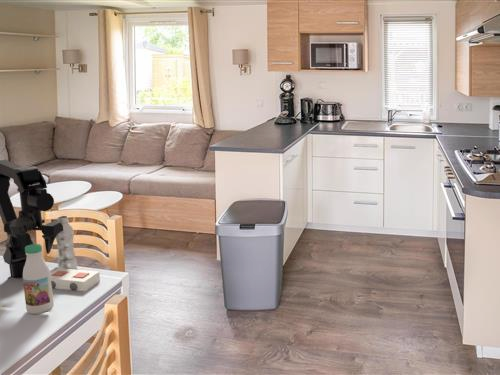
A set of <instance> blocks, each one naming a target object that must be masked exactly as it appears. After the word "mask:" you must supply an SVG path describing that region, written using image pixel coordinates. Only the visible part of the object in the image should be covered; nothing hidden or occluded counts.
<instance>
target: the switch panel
mask: <svg viewBox="0 0 500 375" xmlns="http://www.w3.org/2000/svg"><path fill="white" fill-rule="evenodd" d="M49 271H50V276H51V284H52V289H57V290H58V289H59V290H67V291H68V290H70V291H73V292H74V291H77V292H78V291H79V292H86V291H88V290H89V289H90V288H92V287H93V286H95V285H97V284H98V283H99V282H100V281H101V276H100V271H98V270H97V271H95V270H83V269H64V268H58V266H57V267H54V268H52V269H51V270H49ZM57 271H67V272H68V273H67V274H65V275H63V276H52V274H54V273H56V272H57ZM79 272H81V273H89V275H88V276H86V277H85V278H73V276H74V275H76V274H78V273H79Z"/></svg>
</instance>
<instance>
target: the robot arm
mask: <svg viewBox="0 0 500 375" xmlns="http://www.w3.org/2000/svg"><path fill="white" fill-rule="evenodd" d="M11 179H13V184H15V185H16V187H17V190H16V191H17V192H19V198H20V207H21V210H18V217H17V214H16V212H15V209H14V205H13V203H12V200H11V196H10V195H9V189H10V186H11V182H10V181H11ZM47 189H48V186H47V182H46V180H45V178H44V176H43V174H42V172H41V170H39V168H38V167H37V166H35V165H34V166H33V165H32V166H29V165H28V166H22V165H19V164H17V163H13V162H12V161H10V160H8V159H0V218H1V221H2V224H3V231H4V233H6V235H7V238H6V242H5V251H4V254H3V255H2V257H3V258H2V259H3V262H4V263H5V264H7V265H8V266H9V275H10V276H9V277H7V280H9V279H11V278H12V279H13V278H14V279H23V269H24V266H25V263H26V259H27V255H26V252H25V247H26V246H28V245H31V244H34V242H33V240H32V238H31V235H30V234H29V231H41V234H43V235H41V237H42V238H43V240H44V246H45V252H46V254H48V255H49V254H50V253H51V251H52V248H53V245H54V243H55V240H56V236H57V234H58V233H60V232H61V231H63V225H62V224H61V223H60V222H57V221H50V222H47V223H46V224H44V223H45V221H46V220H45V219H43V217H42V216H43V215H42V212H48V211H50V210H51V209H52V208H53V206H54V205H55V200H54V199H55V198H54V197H53V196H52V194H50V193H49V192H48V190H47Z"/></svg>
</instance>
